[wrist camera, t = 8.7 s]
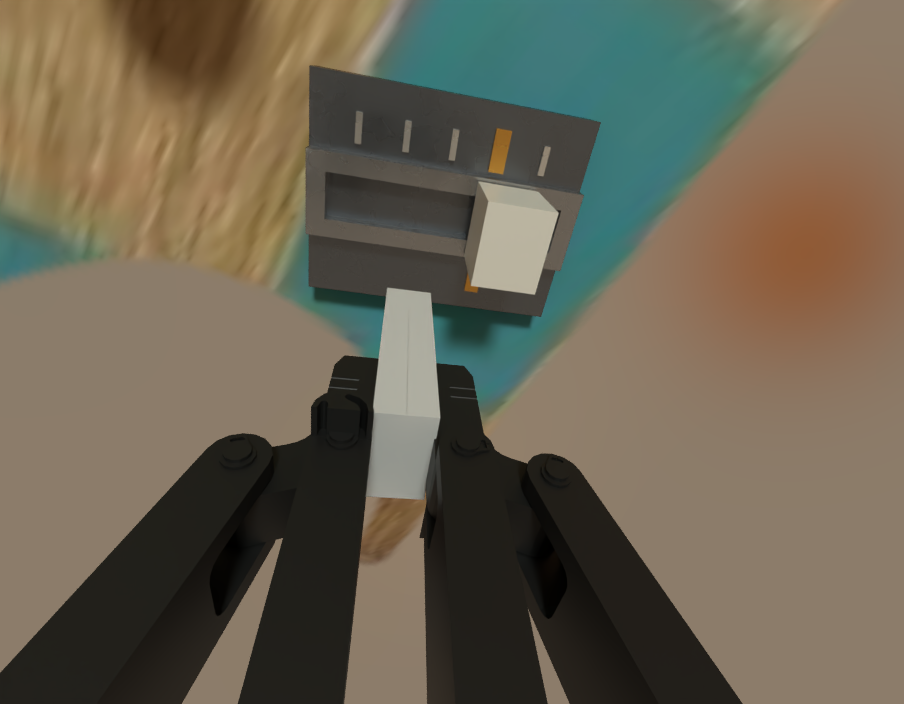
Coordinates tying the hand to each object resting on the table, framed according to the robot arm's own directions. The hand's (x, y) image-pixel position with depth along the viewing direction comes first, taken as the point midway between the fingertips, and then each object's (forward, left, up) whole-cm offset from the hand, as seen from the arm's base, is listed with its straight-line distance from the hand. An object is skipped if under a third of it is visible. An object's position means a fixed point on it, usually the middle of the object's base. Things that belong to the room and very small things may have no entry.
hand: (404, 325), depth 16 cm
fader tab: (+6, 0, -17) cm, 18 cm away
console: (+2, 0, -19) cm, 19 cm away
